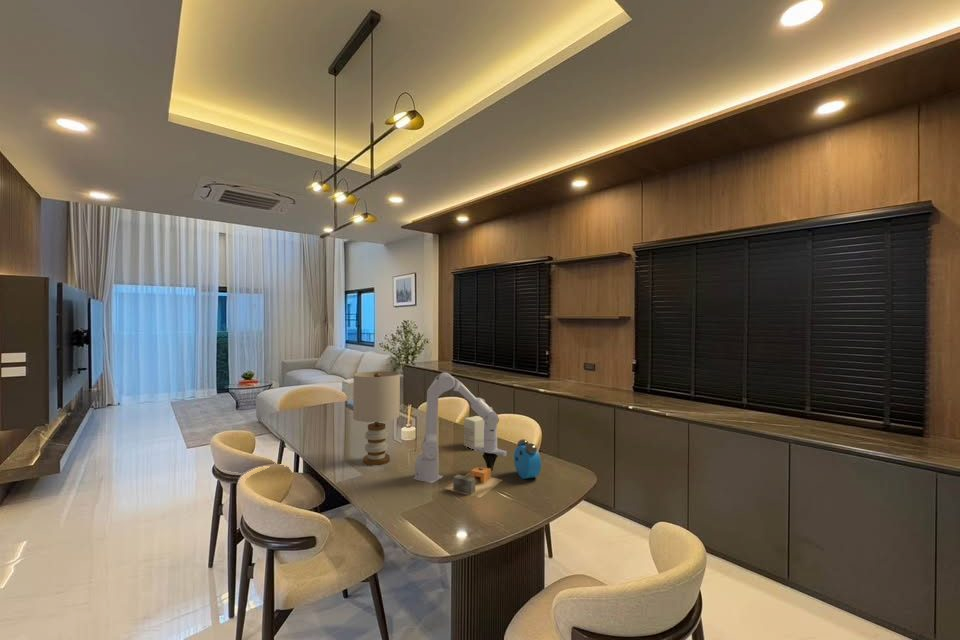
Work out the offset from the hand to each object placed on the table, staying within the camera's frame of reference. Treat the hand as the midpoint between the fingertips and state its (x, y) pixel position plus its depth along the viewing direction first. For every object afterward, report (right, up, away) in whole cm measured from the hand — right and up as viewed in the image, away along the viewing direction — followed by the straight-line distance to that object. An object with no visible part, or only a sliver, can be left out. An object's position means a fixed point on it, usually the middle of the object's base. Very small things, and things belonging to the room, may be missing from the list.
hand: (490, 470), depth 167 cm
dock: (-7, -1, -12) cm, 14 cm away
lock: (-4, -1, -7) cm, 8 cm away
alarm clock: (+15, -2, -4) cm, 16 cm away
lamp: (-53, -2, +15) cm, 55 cm away
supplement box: (-7, -2, +37) cm, 37 cm away
